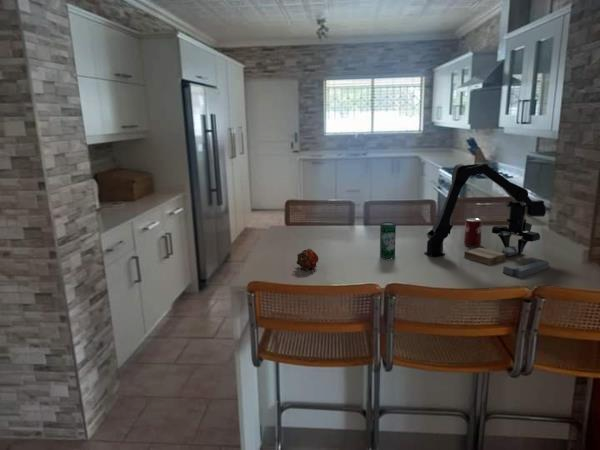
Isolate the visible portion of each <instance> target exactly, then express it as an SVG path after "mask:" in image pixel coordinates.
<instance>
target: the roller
mask: <svg viewBox="0 0 600 450" xmlns="http://www.w3.org/2000/svg"><path fill="white" fill-rule="evenodd" d="M523 252H524V250H523V251H522V252H521V254H522V253H523ZM501 253H503V254H505V258H508V257H513V256H517V255H519V254H518V243H517V244H513V245H509V247H506V248H505V247H504V248H502V250H501Z"/></svg>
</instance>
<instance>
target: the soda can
mask: <svg viewBox="0 0 600 450" xmlns="http://www.w3.org/2000/svg"><path fill="white" fill-rule="evenodd" d="M464 221H465V222H464V234H463V235H464V240H463V244H464V245H465V246H467V247H473V248H475V247H476V248H478V247H480V246H481V244H482V231H483V230H482V229H483V220H482V219H481V218H478V217H469V218H466V219H465V220H464Z"/></svg>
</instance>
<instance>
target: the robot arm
mask: <svg viewBox="0 0 600 450" xmlns="http://www.w3.org/2000/svg"><path fill="white" fill-rule="evenodd" d="M478 175H484V176H485V177H486V178H488V179H489V180H491V181H492V182H494V184H496V185H497V186H498V187H500V188H501V189H502V190H503V191H504V192H505V194H507V195H508V197H509V198H511V200H510V199H509V200H508V201H507V202H505V203H504V206H506V207H507V208H509V214H508V218H506V222H508V225H502V224H497V225H494V226H493V227H492V228H491V233H492V234H495V235H497V236H498V237H499V238H500V240H501V242H502V245H503V247H504V248H506V247H509V246H510V242H511V236H512V235H513V236H517V237H520V238H519V239H517V244H518V254H517V255H521V254H522V253H523V252H524V249H525V247H526V245H527V244H528V243H529V242H531V243H532V242H536V241H540V240H541V235H540V233H539V232H536V231H531V230H532V227H533V224H531V223H528V222H527V219H526V218H525V215H526V216H527V217H529V218H534V217H536V218H537V217H540V218H541V217H543V218H544V216H545V215H546V212H547V211H546V210H547V209H546V206H545V200H542V199H541V200H539V199H538V200H532V199H531V198H530V197H529V191H528V189H526V188H525V187H522V186H519V185H518V184H515V183H514V182H511V181H510V180H508V179H507V178H506V177H505V176H503V175H501V174H500V173H498V172H497V171H496V170H495V169H494V168H492V167H491V166H489V165H488V163H485V162H480V163H474V164H473V163H472V164H463V163H458V164H456V165H455V166H454V167H453V168H452V173H451V183H450V184H451V185H450V187H449V191H448V192H447V195H446V198H445V201H444V204H443V207H442V210H441V212H440V215H439V217H437V219H436V220H435V222H434V223H433V226H432V228H431V230H429V231H428V232H427V233H426V235H427V236H426V237H427V239H428V240H427V241H426V243H427V244H426V251H425V252H423V254H424V255H426V256H430V257H433V258H437V257H442V256H445V255H446V253H445V252H444V241H445V239H446V238H448V236H449V235H451V231H452V229H453V226H454V225H453V223H451V218H452V217H453V216H452V215H453V212H454V210H455V208H456V205H457V202H458V199H459V196H460V193H461V190H462V188H463V187H464V186H465V184H466V183H467V182H468V180H469V178H470V177H473V176H478ZM512 200H514V201H512ZM522 251H523V252H522ZM521 252H522V253H521Z"/></svg>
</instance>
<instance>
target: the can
mask: <svg viewBox="0 0 600 450" xmlns="http://www.w3.org/2000/svg"><path fill="white" fill-rule="evenodd" d="M396 224H397V223H396V222H393V221H383V222H380V225H379V227H380V229H379V239H380V240H379V243H380V244H379V258H380V257H381V258H380V259H382V258H385V259H384V260H386V259H387V260H388V259H390V260H392V259H391V258H394V259H395V258H396V233H397V232H396V227H397V225H396Z"/></svg>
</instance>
